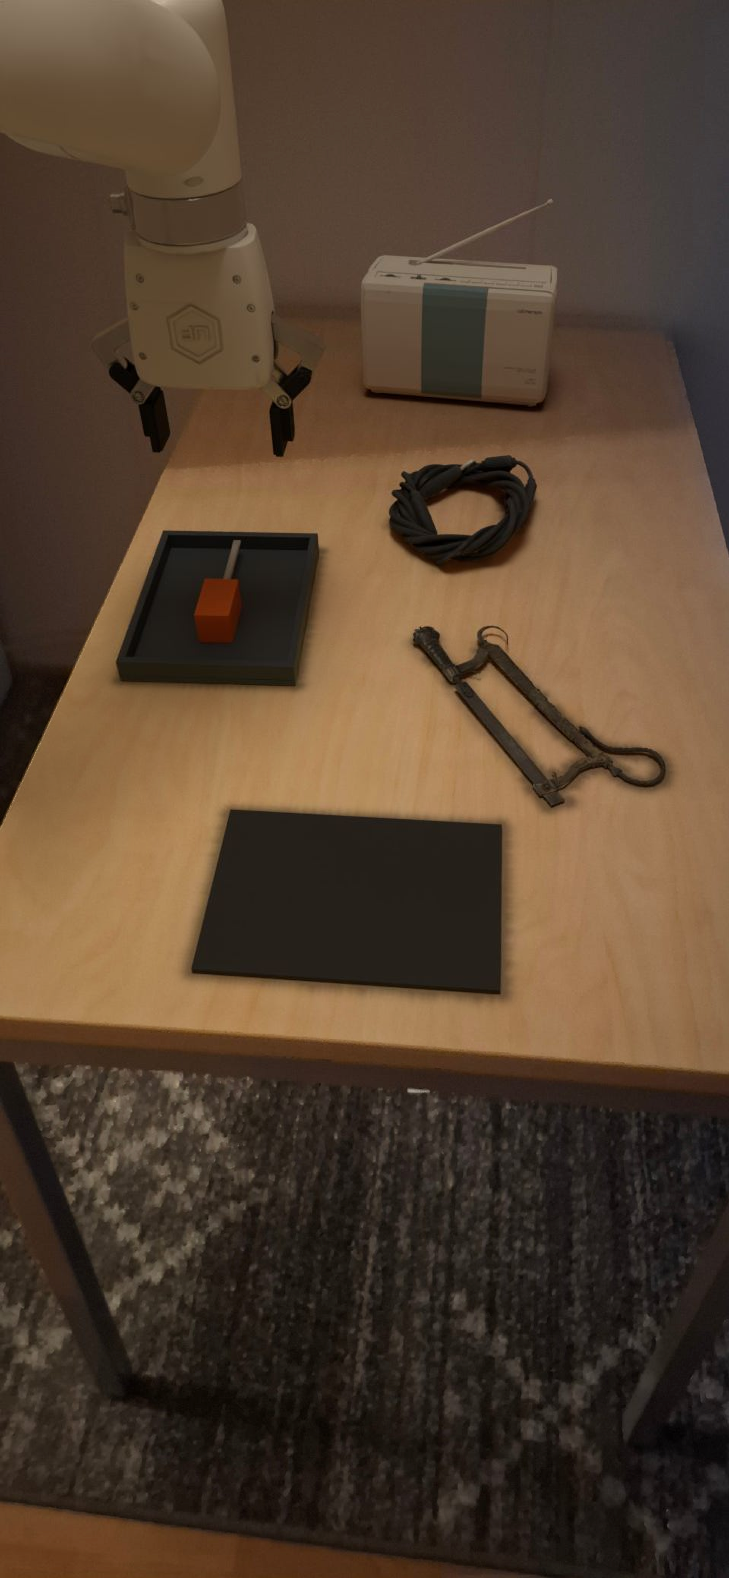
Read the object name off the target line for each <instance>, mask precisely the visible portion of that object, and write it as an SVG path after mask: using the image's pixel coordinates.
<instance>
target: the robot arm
mask: <svg viewBox="0 0 729 1578" xmlns="http://www.w3.org/2000/svg"><path fill="white" fill-rule="evenodd" d="M229 43H230V42H229V34H228V24H227V17H226V11H225V6H224V3H223V0H0V134H4V135H6V136H7V137H8V138H9V139H11V140H13V141H14V142H15V143H17V144H20V145H21V146H23V147H25V148H27V149H29V150H32V151H35V152H38V153H41V154H46V155H50V156H55V157H59V158H63V159H69V160H75V161H79V162H83V163H84V162H85V163H92V164H98V165H101V166H102V165H103V166H105V167H106V166H107V167H111V168H116V169H122V170H124V173H125V179H126V185H125V187H124V188H120V190H110V192H109V199H108V200H109V207H110V210H111V212H112V214H122V215H123V216H127V217H128V219H129V221H130V225H131V230H130V231H129V233H127V234H126V235H125V237H124V246H123V251H124V252H123V261H124V262H123V263H124V264H123V265H124V267H123V268H124V285H125V298H126V300H125V301H126V309H127V310H126V311H127V316H126V317H123V318H122V319H121V320H119V321H117V322H115V323H114V324H111V326H109V327H107V328H105V329H103V330H102V331H100V332H98V333H97V334H96V335H95V336H94V337H93V339H92V341H91V343H90V347H91V349H92V351H93V353H94V354H95V355H96V357H97V358H98V359H99V361H100V363H102V365H103V366H104V367H105V368H106V369H107V370H108V375H109V377H110V379H112V380H113V381H114V382H115V383H116V384H117V385H119V386H120V387H121V388H122V389H123V390H125V391H126V392H127V393H128V394H129V397H130V399H131V401H132V402H133V403H134V404H136V405H137V406H138V411H139V416H140V421H141V426H142V431H143V435H144V437H146V438H149V441H150V446H151V447H150V448H151V451H152V453H155V454H160V453H161V452H163V451H164V449H165V447H166V444H167V442H168V440H169V439H170V436H171V429H170V428H171V427H170V422H169V416H168V410H167V406H166V399H165V393H164V390H163V389H162V388H167V389H192V390H193V389H194V390H227V391H228V390H231V391H232V390H233V391H234V390H235V391H236V390H238V391H246V390H247V391H248V390H256V389H259V388H260V389H261V390H262V391H263V393H265V395H267V397H268V398H269V399H270V400H271V404H270V406H269V411H268V413H269V414H268V415H269V425H270V434H271V444H272V454H273V455H274V456H275V457H276V458H283V457H284V455H285V451H286V450H287V449H286V448H287V445H288V443H289V442H294V440H295V435H296V427H295V425H296V424H295V415H294V414H295V413H294V400H295V399H296V398H297V397H298V396H299V395H300V394H301V393H302V392H303V391H304V390H305V389H306V388H307V387H308V386H309V385H310V383H311V381H312V379H313V376H314V374H315V372H316V370H317V368H318V367H319V365H320V362H321V360H322V357H323V355H324V352H325V349H326V342H325V340H324V339H323V338H321V337H319V336H317V335H315V334H313V333H311V332H309V331H308V330H306V329H304V328H302V327H300V326H299V325H296V324H295V323H292V322H291V321H288V320H287V319H285V318H283V317H281V316H279V315H277V314H276V310H275V303H274V298H273V292H272V287H271V282H270V276H269V272H268V267H267V262H266V259H265V255H264V251H263V248H262V244H261V240H260V237H259V233H258V231H257V228H256V226H255V225H254V224H253V223H250V222H248V221H247V213H246V203H245V202H246V201H245V191H244V182H243V175H242V165H241V154H240V145H239V135H238V133H239V132H238V125H237V124H238V123H237V115H236V103H235V93H234V84H233V74H232V63H231V54H230V53H231V52H230V44H229ZM127 342H130V346H131V353H132V358H133V362H132V361H130V360H129V359H128V358H126V357H125V356H123V354H122V351H121V350H120V348H119V347H121V346H123V345H124V344H126V343H127ZM279 344H280V345H282V346H284V347H285V348H288V349H289V350H292V351H293V352H295V353H297V354H299V356H300V362H299V363H297V365H296V366H295V367H294V368H293V369H292V370H291V371H290V372H289V371H288V370H286V368H285V367H284V366H283V365H282V364H281V363H280V362H279V361H278V360H277V358H278V356H279V348H280V347H279Z"/></svg>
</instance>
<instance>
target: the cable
mask: <svg viewBox="0 0 729 1578" xmlns="http://www.w3.org/2000/svg"><path fill="white" fill-rule="evenodd" d="M517 466H520V467H522V468H523V469H524V470H525V472H526V474H527V477H528V479H527V480H526V484H525V485H524V483H523V481H522V480H521V478H520V477H518V476H517V475H515V474H514V473H512V472H511V471H513V469H514V468H516V467H517ZM400 476H401V477H402V478H403V479H404V481H400V482H399V484H398V485H399V488H400V489H393V490H392V491H391V496H392V497H394V498H395V499H396V500H395V501H394V502H393V503H392V504H391V505H390V506H389V509H388V515H389V520H388V524H389V526H390V528H391V529H392V530H393V531H395V532H397V533H399V534H401V538H402V541H403V542H405V543H407V544H410V545H411V547H412V548H413V549H414V550H415V551H417V552H419V553H422V554H423V555H425V556H426V557H427V558H429V559H433V560H434V561H435V563H436V564H438V565H443V564H445V563H447V562H449V561H450V560H452V561H455V562H461V563H475V562H480V561H483V560H485V559H488V558H490V557H492V556H494V555H495V554H497V553H498V552H500V551H502V549H503V548H505V547H506V546H507V545H508V544H509V543H510V541H511V540H512V539H513V538H514V536H515V535H516V534H517V533H518V532H519V530H520V529H522V528H523V527H524V525H525V523H526V522H527V520H528V518H529V515H530V511H531V509H532V505H533V501H534V499H535V495H536V492H537V488H538V485H537V482H536V479H535V478H534V475H533V472H532V471H531V468H530V467H529V466H528V465H527V464H526V463H525V462H523V461H521V460H517V459H516V457H512V455H510V454H507V455H497V456H489V457H486V458H484V460H481V461H480V462H477V461H476V459H474V458H471V459H469V460H468V461H466V462H465V463H464V464H459V463H451V464H450V463H449V464H442V463H441V464H439V463H432V464H427V465H424V466H423V467H421V468H420V469H418V470H415V471H412V472H411V473H408V472H407V471H404V470H403V471H402V472H401V474H400ZM469 483H477V484H479V485H481V486H485V487H488V488H499V489H500V490H502V491H503V492H504V505H503V507H504V510H505V511H504V512H505V516H504V517H502V519H500V520H499V521H498V522H497V523H496V524H491V525H486V526H485V527H482V528H480V529H478V530H477V531H476V532H474V533H473V534H472V535H471V534H462V533H461V534H458V533H440V534H439V533H438V530H437V528H436V524H435V523H434V520H433V518H432V515H431V513H430V511H429V508H428V505H427V502H426V500H428V499H430V498H432V497H435V496H436V495H439V494H440V493H441V492H442V491H443V490H444V489H446V488H448V487H449V486H459V485H464V484H469Z"/></svg>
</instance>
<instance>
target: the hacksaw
mask: <svg viewBox="0 0 729 1578" xmlns="http://www.w3.org/2000/svg"><path fill="white" fill-rule="evenodd" d="M493 628H494V629H497V630H500V631H501V632H503V633H504V634H505V638H506V646H508V645H509V636H508V633H506V631H505V630H504V629H502V628H501V627H500V626H496V625H486V626H482V627H481V628H480V629H479V630H478V631H477V633H476V638H477V641H478V642H479V646H480V647H479V648H477V650H476V654H474V657H473V658H471V659H470V660H467V661H464V662H462V663H460V664H455V663H453V661H452V659H451V658H450V656H449V654H448V653H447V652H446V651H445V649H444V648H443V646H442V645H441V643H440V638H441V633H440V632H439V631H437V630H436V629H435V627H432V626H429V625H426V626H421V625H420V626H418V628H415V629H414V630H413V631H414V632H413V633H412V642H413V643H414V644H416V645H419V646H420V647H421V649H423V650H424V652H425V653H427V655H428V656H429V657H430V659H431V660H432V661H433V662H434V664H436V666H438V668H439V670H440V671H441V672H442V674H443V675H444V676H445V677H446V679H448V681H449V682H450V683H453V684H454V685H453V687H454V688H455V690H456V691H457V692H458V693H459V695H460V696H462V698H463V700H464V701H465V702H466V703H467V704H468V706H469V707H470V708H471V709H472V710H473V712H474V713H475V714H476V715H477V717H478V718H479V719H480V721H481V722H482V723H483V724H484V725H485V727H487V729H488V730H489V732H491V734H492V735H493V737H494V738H495V739H496V740H497V741H498V742H499V744H500V745H501V746H502V747H503V749H505V751H506V752H507V753H508V754H509V756H510V758H512V759H513V761H514V762H515V763H516V764H517V765H518V766H519V768H520V769H521V771H522V772H524V774H525V775H526V776H527V778H528V779H529V780H530V781H531V783H532V788H533V789H534V791H535V792H536V793H537V795H538V796H539V797H540V798H541V797H543V798H545V800H546V801H547V802H548V803H549V805H550V806H554V805H557V804H561V803H564V802H565V801H566V799H565V798H564V797H563V796H562V795H561V793H560V792H559V790H561V789H564V788H566V787H567V785H569V784H570V783H571V781H572V780H573V779H574V778H575V777H576V776H577V775H578V774H579V773H580V772H582V771H583V770H587V769H589V768H592V769H594V768H598V767H604V769H608V770H610V772H611V774H612V776H614V777H616V776H619V777H620V778H621V779H623V780H624V781H625V782H627V783H630V784H633V785H637V786H645V787H648V786H653V785H655V784H657V783H659V782H661V781H662V779H663V778H664V777H665V775H666V772H667V769H666V768H667V767H666V764H665V763H666V762H665V760H664V758H663V757H662V756H661V754H659V753H658V752H657V751H656V750H653V749H652V748H648V747H641V746H640V747H639V746H637V747H636V746H635V747H621V746H620V747H616V746H614V747H613V746H610V745H609V746H608V745H606V744H605V743H603V742H601V741H600V740H598V739H597V738H596V737H595V736H594V735H592V734H591V732H590V731H589V730H588V729H587V728H586V727H585V726H580V725H579V726H578V728H577V727H576V726H575V725H574V724H573V723H572V722H571V721H570V720H569V719H568V718H567V717H565V716H562V712H560V711H558V709H557V707H556V706H555V705H553V703H552V702H551V701H549V700H548V698H547V696H546V695H544V693H542V692H541V689H540V688H538V687H536V686H535V684H534V682H533V681H532V680H530V678H529V677H528V676H527V675H526V674H525V673H524V672H523V670H522V669H521V668H520V667H519V666H518V665H517V664H516V663H515V662H514V660H513V659H512V658H511V657H510V656H509V655H508V653H506V651H504V649H503V648H502V647H501V646H500V645H499V644H495V643H491V642H489V641H488V640H487V639H484V637H483V633H484V632H485V631H486V630H488V629H493ZM489 658H490V659H491V660H492V661H493V662H494V663H495V664H496V665H497V666H498V667H499V668H500V669H501V670H502V671H503V672H504V674H505V675H506V676H508V678H510V680H511V681H512V682H513V683H514V684H515V685H516V686H517V687H518V689H519V690H521V692H522V693H523V694H524V695H526V697H527V698H528V699H530V701H531V702H532V703H533V704H534V705H535V707H537V708H538V710H539V711H540V712H542V714H543V715H544V716H545V717H546V718H547V719H549V720H550V722H551V723H553V725H555V726H556V728H557V729H558V730H559V731H561V732H562V734H563V735H564V736H565V737H566V738H567V739H569V740H570V742H573V743H574V744H575V746H576V747H577V748H579V749H581V750H582V751H583V752H584V754H585V755H586V757H582V758H580V759H578V760H576V761H575V762H574V763H573V764H571V765H570V766H569V767H568V768H567V771H566V772H565V773H564V774H563V775H560V776H557V772H555V771H551V773H552V775H553V777H552V778H551V779H548V778H547V777H546V776H545V774H544V773H543V772H542V771H541V770H540V768H539V767H538V766H537V765H536V764H535V762H534V761H533V760H532V759H531V757H530V756H529V755H528V754H527V752H526V751H525V750H524V749H523V748H522V747H521V745H520V744H519V743H518V742H517V741H516V740H515V738H514V737H513V736H512V734H511V733H510V732H509V731H508V730H507V729H506V727H505V726H504V725H503V724H502V722H500V720H499V719H498V718H497V717H496V715H495V714H494V713H493V712H492V711H491V710H490V708H489V707H488V706H487V705H486V703H485V702H484V701H483V700H482V698H481V697H480V696H479V695H478V694H477V692H476V691H475V690H474V689H473V688H472V687H471V685H470V684H469V683H468V682H467V680H466V681H462V677H463V675H466V674H467V673H470V672H473V673H476V674H478V675H480V674H481V671H476V669H478V668H480V667H481V666H482V665H483V664H485V663H486V662H487V661H488V659H489ZM516 686H515V687H516ZM594 744H595V745H596V746H598V747H599V748H598V747H596V746H595V745H594ZM600 748H601V749H602V750H603V751H602V750H601V749H600ZM604 751H608V752H613V753H627V754H628V753H630V754H631V753H647V754H650V755H652V756H653V757H654V758H655V759H656V760H657V761H658V762H659V765H660V772H659V774H658V775H657V776H656V777H655V778H653V779H649V780H639V779H636V778H633V777H630V776H628V775H627V774H626V773H623V771H624V770H622V769H621V768H619V767H616V766H615V765H613V763H614V760H613V759H612V758H611V757H610V756H608V754H605V753H604Z"/></svg>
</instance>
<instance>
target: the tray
mask: <svg viewBox="0 0 729 1578" xmlns="http://www.w3.org/2000/svg"><path fill="white" fill-rule="evenodd" d="M234 540H241V545H240V548H239V552H238V555H237V559H236V563H235V567H234V570H233V574H232V578H231V579H238V582H239V590H240V597H241V604H242V608H241V612H240V616H239V620H238V624H237V628H236V632H235V636H234V640H233V643H212V642H199V640H198V634H197V629H196V623H195V617H194V613H195V610H196V607H197V603H198V600H199V596H200V593H201V590H202V586H203V583H204V579H223V577H224V574H225V570H226V566H227V563H228V559H229V556H230V552H231V548H232V544H233V541H234ZM319 545H320V544H319V533H317V532H315V533H314V532H270V531H267V532H266V531H265V532H263V531H220V530H219V531H217V530H214V531H213V530H211V531H209V530H170V529H169V530H168V529H167V530H164V529H163V530H162V532H161V535H160V538H159V540H158V543H157V546H156V548H155V552H154V554H153V557H152V560H151V563H150V566H149V568H148V571H147V574H146V576H145V579H144V582H143V584H142V587H141V590H140V594H139V596H138V598H137V602H136V603H135V607H134V610H133V613H132V616H131V618H130V621H129V624H128V626H127V629H126V632H125V635H124V638H123V640H122V643H121V646H120V649H119V652H118V654H117V656H116V660H115V664H116V669H117V672H118V676H119V679H120V681H121V682H122V681H123V682H127V681H128V682H153V683H156V682H158V683H159V682H160V683H191V684H225V685H227V684H229V685H254V686H255V685H257V686H258V685H260V686H293V687H294V686H296V685H297V679H298V674H299V669H300V663H301V657H302V651H303V644H304V639H305V633H306V628H307V622H308V617H309V610H310V606H311V600H312V593H313V588H314V582H315V576H316V571H317V566H318V561H319V555H320V546H319Z"/></svg>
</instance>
